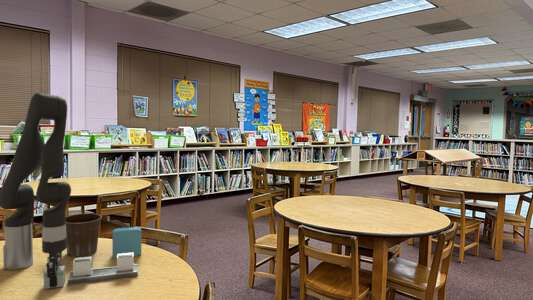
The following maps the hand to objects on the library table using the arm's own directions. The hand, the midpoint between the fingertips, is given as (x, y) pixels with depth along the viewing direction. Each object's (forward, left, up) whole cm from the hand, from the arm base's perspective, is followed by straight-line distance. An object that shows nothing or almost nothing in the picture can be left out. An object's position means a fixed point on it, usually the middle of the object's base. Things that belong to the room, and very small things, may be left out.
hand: (54, 283), depth 127 cm
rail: (+16, +3, -1) cm, 17 cm away
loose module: (0, 0, -1) cm, 1 cm away
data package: (+24, +24, -1) cm, 34 cm away
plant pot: (+5, +33, -1) cm, 34 cm away
